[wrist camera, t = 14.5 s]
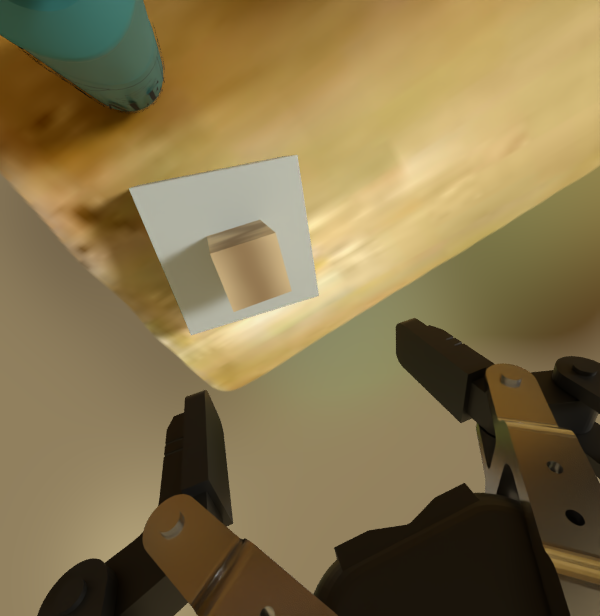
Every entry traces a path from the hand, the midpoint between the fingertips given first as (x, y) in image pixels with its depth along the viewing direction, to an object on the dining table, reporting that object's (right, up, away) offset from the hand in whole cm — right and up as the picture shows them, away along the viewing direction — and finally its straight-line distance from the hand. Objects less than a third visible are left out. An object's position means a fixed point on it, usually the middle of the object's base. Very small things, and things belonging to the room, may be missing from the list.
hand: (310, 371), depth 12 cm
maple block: (-6, +8, +16) cm, 19 cm away
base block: (-8, +10, +20) cm, 24 cm away
